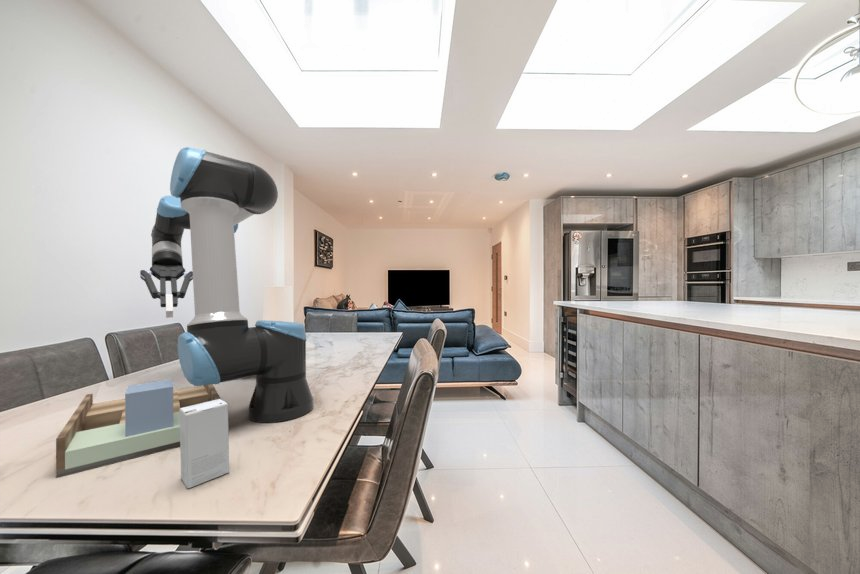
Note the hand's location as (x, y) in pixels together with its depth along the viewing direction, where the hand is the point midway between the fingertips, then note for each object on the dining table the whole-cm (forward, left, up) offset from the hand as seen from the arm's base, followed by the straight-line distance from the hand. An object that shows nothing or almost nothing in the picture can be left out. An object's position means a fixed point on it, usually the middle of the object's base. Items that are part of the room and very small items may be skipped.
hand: (169, 314), depth 90 cm
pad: (-18, +23, -25) cm, 38 cm away
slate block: (-18, +23, -21) cm, 36 cm away
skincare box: (-38, +33, -25) cm, 56 cm away
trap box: (-11, +16, -25) cm, 31 cm away
